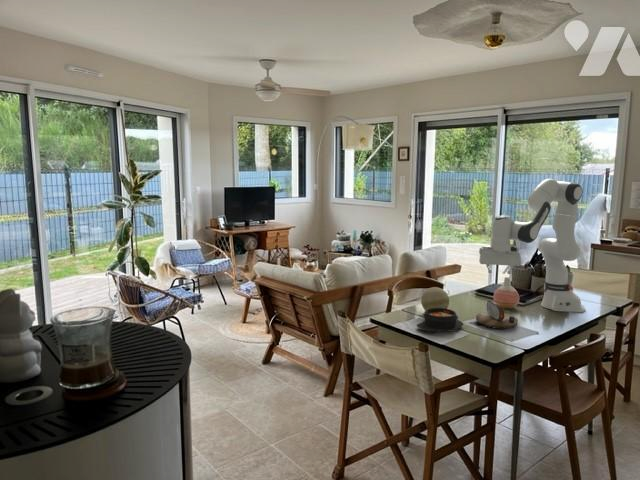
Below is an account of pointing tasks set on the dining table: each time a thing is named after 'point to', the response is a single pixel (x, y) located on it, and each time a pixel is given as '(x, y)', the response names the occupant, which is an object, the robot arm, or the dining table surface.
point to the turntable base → (498, 327)
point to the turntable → (490, 321)
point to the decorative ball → (434, 298)
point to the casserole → (440, 320)
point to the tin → (495, 310)
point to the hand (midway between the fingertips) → (499, 273)
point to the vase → (506, 295)
